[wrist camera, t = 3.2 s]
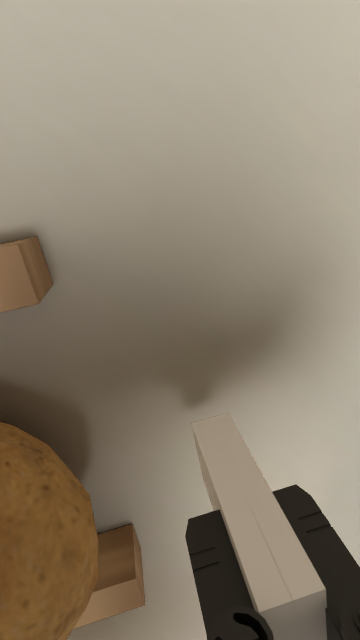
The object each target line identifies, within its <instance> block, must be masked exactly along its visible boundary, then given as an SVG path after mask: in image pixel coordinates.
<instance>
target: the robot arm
mask: <svg viewBox="0 0 360 640" xmlns="http://www.w3.org/2000/svg"><path fill="white" fill-rule="evenodd" d="M191 424H192V428H193V433H194V438H195V442H196V447H197V452H198V456H199V461H200V465H201V470H202V475H203V478H204V482H205V485H206V488H207V491H208V494H209V497H210V500H211V503H212V506H213V509H214V511H213V512H210V513H207V514H203V515H200V516H197V517H194V518H191V519H189V520H188V525H187V531H186V536H185V537H186V542H187V546H188V551H189V555H190V560H191V565H192V569H193V574H194V578H195V583H196V588H197V592H198V597H199V601H200V606H201V610H202V615H203V620H204V624H205V629H206V633H207V640H360V567H359V566H358V564H357V563H356V561H355V560H354V558H353V557H352V555H351V554H350V552H349V551H348V549H347V548H346V546H345V545H344V544H343V542H342V541H341V539H340V538H339V536H338V535H337V533H336V532H335V530H334V529H333V527H331V525H330V523H329V521H328V520H327V519H326V517H325V516H324V514H322V512H321V510H320V508H319V507H318V505H317V504H316V502H315V501H314V499H313V498H312V497H311V495H309V494H308V493H307V492H305V491H304V490H303V489H301V488H300V487H299V486H297V485H293V486H289V487H286V488H283V489H280V490H277V491H273V492H272V491H271V489H270V487H269V486H268V484H267V482H266V480H265V478H264V477H263V475H262V473H261V471H260V469H259V467H258V466H257V464H256V462H255V460H254V458H253V457H252V455H251V453H250V451H249V449H248V448H247V446H246V444H245V442H244V440H243V439H242V437H241V435H240V433H239V431H238V430H237V428H236V426H235V424H234V422H233V421H232V419H231V417H230V415H229V413H226V414H223V415H219V416H215V417H212V418H208V419H205V420H201V421H198V422H194V423H191Z"/></svg>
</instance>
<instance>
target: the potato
mask: <svg viewBox="0 0 360 640" xmlns="http://www.w3.org/2000/svg"><path fill="white" fill-rule="evenodd" d="M98 578H99V553H98V536H97V531H96V526H95V521H94V516H93V511H92V505H91V500H90V495H89V494H88V492H87V491H86V490H85V489H84V487H83V486H82V485H81V483H80V482H79V481H78V479H77V478H76V477H75V476H74V474H73V473H72V472H71V471H70V469H69V468H68V467H67V466H66V465H65V464H64V462H63V461H62V460H61V459H60V458H59V457H58V456H57V454H56V453H55V452H54V451H53V450H52V449H51V447H50V446H49V445H48V444H46V443H44V442H42V441H41V440H39V439H37V438H35V437H33V436H31V435H30V434H28V433H26V432H24V431H22V430H21V429H19V428H17V427H15V426H13V425H9V424H6V423H2V422H0V640H66V639H67V637H68V636H69V634H70V633H71V631H72V630H73V628H74V626H75V625H76V623H77V622H78V620H79V619H80V617H81V616H82V614H83V613H84V611H85V609H86V607H87V605H88V603H89V600H90V598H91V595H92V593H93V590H94V588H95V585H96V583H97V580H98Z"/></svg>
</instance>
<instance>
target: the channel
mask: <svg viewBox="0 0 360 640" xmlns="http://www.w3.org/2000/svg"><path fill="white" fill-rule="evenodd" d="M52 285H53V282H52V279H51V276H50V273H49V270H48V267H47V264H46V261H45V258H44V255H43V252H42V249H41V246H40V243H39V240H38V237H37V236H35V237H31V238H26V239H21V240H16V241H12V242H7V243H2V244H0V312H4V311H9V310H13V309H17V308H22V307H26V306H30V305H35V304H39V302H40V301H41V300H42V298H43V297H44V296H45V294H46V293H47V292H48V291H49V289H50V288H51V287H52ZM97 536H98V553H99V578H98V580H97V583H96V585H95V588H94V590H93V593H92V595H91V598H90V600H89V603H88V605H87V607H86V609H85V611H84V613H83V614H82V616H81V617H80V619H79V620H78V622H77V623H76V625H75V626H74V628H73V629H75V628H78V627H81V626H84V625H87V624H90V623H93V622H96V621H99V620H102V619H105V618H108V617H111V616H114V615H117V614H120V613H123V612H126V611H129V610H132V609H135V608H138V607H141V606H143V605H145V595H144V583H143V570H142V558H141V548H140V545H139V542H138V539H137V536H136V533H135V530H134V527H133V524H130V525H127V526H124V527H120V528H117V529H114V530H111V531H107V532H104V533H101V534H98V535H97Z"/></svg>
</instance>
